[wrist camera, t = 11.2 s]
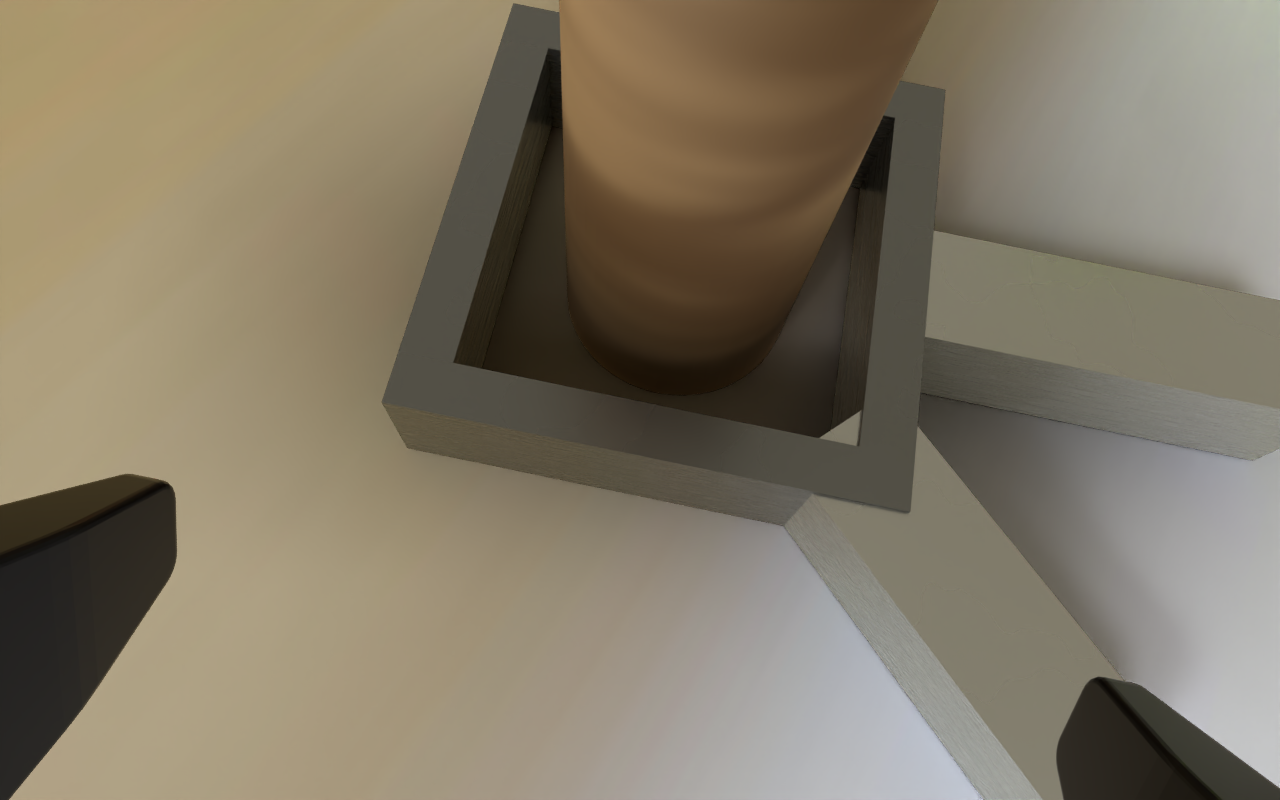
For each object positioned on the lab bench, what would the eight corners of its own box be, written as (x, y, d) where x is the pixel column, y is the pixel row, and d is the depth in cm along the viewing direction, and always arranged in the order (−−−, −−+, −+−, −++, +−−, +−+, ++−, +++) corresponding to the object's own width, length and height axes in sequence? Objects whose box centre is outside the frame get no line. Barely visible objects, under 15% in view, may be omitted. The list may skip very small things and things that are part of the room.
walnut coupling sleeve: (624, 430, 18) (709, -190, 6) (532, 244, 20) (459, -546, 8) (824, 344, 19) (1228, -331, 7) (722, 174, 21) (920, -623, 9)
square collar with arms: (1283, 915, 16) (1405, 944, 13) (324, 712, 16) (281, 706, 14) (1236, 229, 21) (1317, 164, 19) (520, 84, 21) (513, 3, 19)
